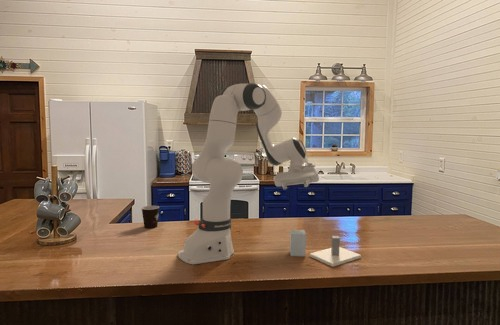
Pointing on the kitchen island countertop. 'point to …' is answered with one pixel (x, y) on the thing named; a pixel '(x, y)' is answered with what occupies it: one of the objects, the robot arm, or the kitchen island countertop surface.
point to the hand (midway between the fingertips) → (295, 186)
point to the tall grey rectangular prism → (297, 242)
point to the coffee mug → (150, 216)
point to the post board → (335, 259)
